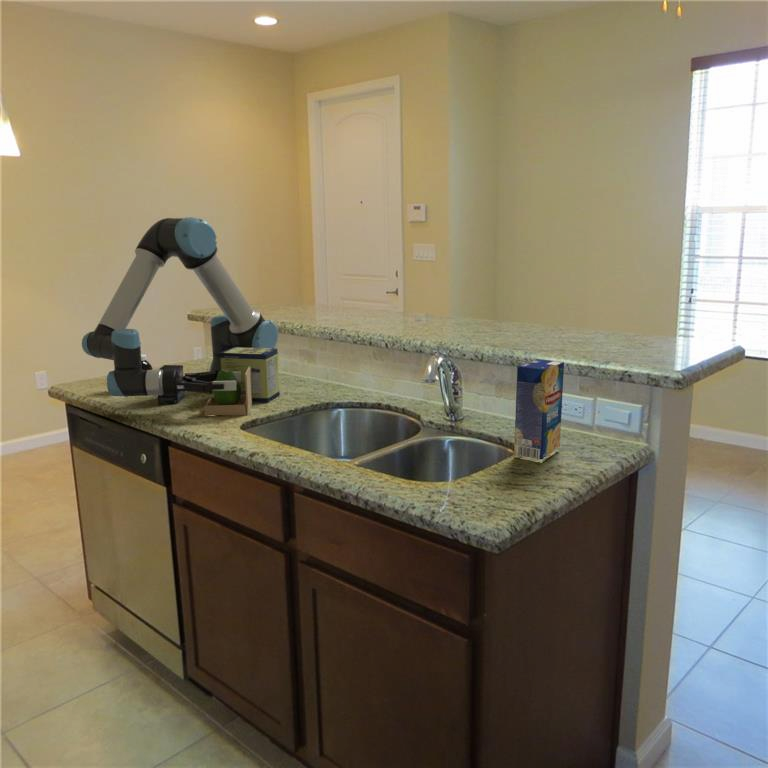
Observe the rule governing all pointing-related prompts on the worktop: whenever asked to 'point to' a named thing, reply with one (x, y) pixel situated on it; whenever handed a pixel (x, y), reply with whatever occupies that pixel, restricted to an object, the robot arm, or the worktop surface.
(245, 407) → the mailer box
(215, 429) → the worktop surface
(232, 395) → the fruit
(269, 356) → the protein box
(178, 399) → the small box
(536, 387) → the blue cracker box
